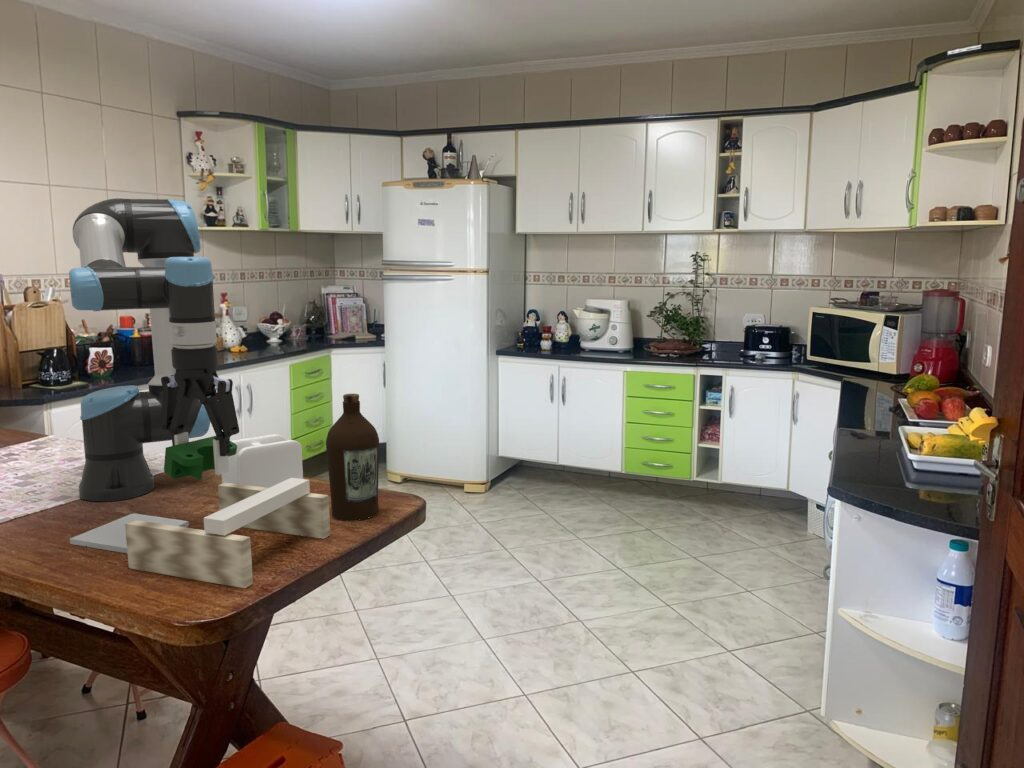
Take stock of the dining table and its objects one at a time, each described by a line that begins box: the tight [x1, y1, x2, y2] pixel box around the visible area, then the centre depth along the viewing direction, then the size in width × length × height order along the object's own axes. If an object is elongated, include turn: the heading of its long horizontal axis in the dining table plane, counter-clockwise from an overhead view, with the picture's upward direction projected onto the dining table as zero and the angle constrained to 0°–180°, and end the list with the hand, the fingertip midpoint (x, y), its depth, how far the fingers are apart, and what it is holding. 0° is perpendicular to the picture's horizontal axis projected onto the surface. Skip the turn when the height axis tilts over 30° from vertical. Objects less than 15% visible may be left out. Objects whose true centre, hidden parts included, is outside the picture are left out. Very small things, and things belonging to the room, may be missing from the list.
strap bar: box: [203, 478, 311, 536], centre depth 138 cm, size 4×24×2 cm, turn 161°
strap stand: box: [125, 482, 331, 589], centre depth 141 cm, size 24×25×8 cm
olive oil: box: [325, 393, 380, 521], centre depth 159 cm, size 11×11×25 cm
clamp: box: [163, 435, 237, 481], centre depth 141 cm, size 12×6×9 cm, turn 141°
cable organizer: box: [221, 433, 304, 488], centre depth 176 cm, size 15×11×12 cm
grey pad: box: [69, 512, 190, 554], centre depth 149 cm, size 14×15×1 cm
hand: (202, 470), depth 141 cm, fingers closed on clamp, 8 cm apart
